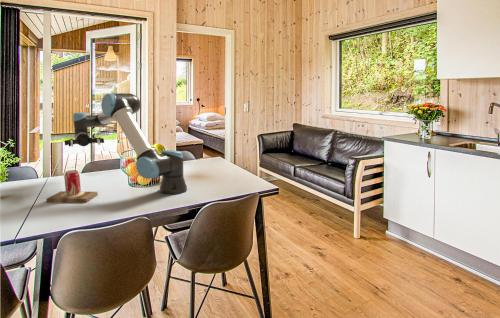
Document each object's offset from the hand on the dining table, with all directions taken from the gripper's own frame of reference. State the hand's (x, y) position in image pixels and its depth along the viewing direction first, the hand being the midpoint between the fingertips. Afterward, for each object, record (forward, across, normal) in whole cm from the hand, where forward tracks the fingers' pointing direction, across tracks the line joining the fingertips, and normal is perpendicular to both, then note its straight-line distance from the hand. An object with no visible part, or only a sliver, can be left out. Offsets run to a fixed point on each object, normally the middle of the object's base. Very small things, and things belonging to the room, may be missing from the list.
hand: (85, 143), depth 191 cm
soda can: (+11, +9, -25) cm, 29 cm away
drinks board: (+11, +9, -27) cm, 31 cm away
